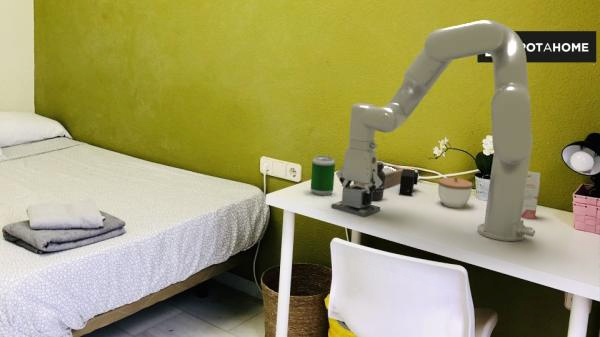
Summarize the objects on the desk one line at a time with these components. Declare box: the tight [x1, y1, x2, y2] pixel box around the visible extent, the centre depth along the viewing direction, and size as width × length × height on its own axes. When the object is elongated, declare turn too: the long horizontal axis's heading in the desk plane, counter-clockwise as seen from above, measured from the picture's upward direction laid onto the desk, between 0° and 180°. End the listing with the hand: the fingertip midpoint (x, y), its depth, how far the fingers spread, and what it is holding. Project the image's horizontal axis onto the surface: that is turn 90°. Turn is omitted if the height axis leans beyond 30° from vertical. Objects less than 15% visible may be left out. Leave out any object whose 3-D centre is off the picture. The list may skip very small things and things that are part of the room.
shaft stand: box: [330, 189, 381, 218], centre depth 185 cm, size 12×9×6 cm
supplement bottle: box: [363, 161, 385, 202], centre depth 197 cm, size 7×7×12 cm
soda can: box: [310, 155, 336, 196], centre depth 200 cm, size 8×8×12 cm
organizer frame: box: [353, 163, 406, 190], centre depth 217 cm, size 9×20×5 cm, turn 142°
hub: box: [341, 183, 373, 208], centre depth 184 cm, size 7×7×5 cm
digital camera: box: [398, 168, 419, 197], centre depth 208 cm, size 10×5×7 cm, turn 166°
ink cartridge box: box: [521, 171, 541, 220], centre depth 188 cm, size 9×5×15 cm, turn 68°
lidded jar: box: [437, 176, 473, 209], centre depth 196 cm, size 11×11×9 cm
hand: (356, 201), depth 185 cm, fingers closed on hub, 6 cm apart
